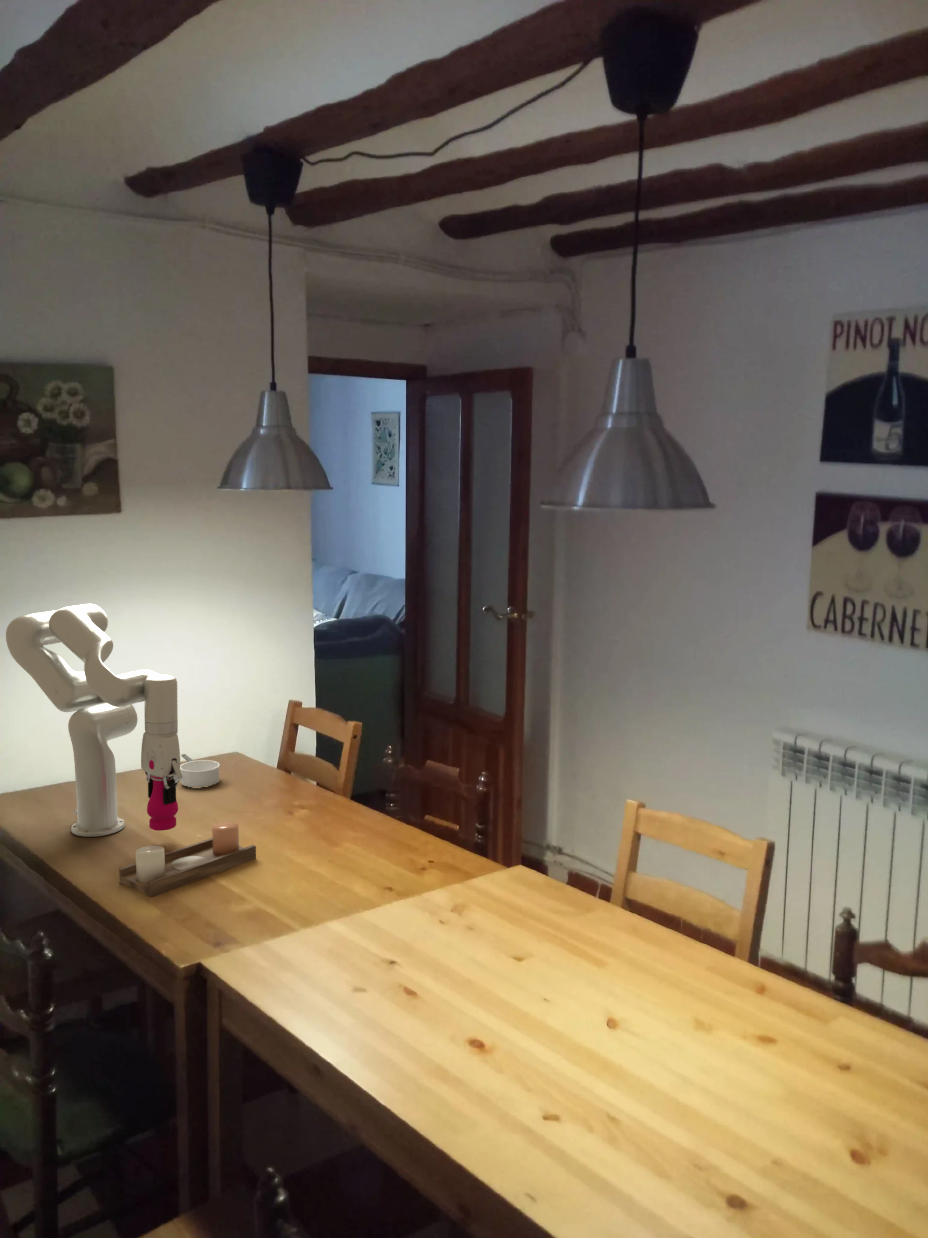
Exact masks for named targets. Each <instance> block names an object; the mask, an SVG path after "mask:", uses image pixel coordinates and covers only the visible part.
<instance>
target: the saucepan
mask: <svg viewBox="0 0 928 1238" xmlns="http://www.w3.org/2000/svg"><path fill="white" fill-rule="evenodd" d="M180 757H182V758H183V759H184V760H185V761H186V762H183V763H182V764H181V763H180V772H181V774H182V779H181V780H180V783H181V785H182V786H185V787H186V786H188V787H187V788H189V787H205V786H210V785H213V784H214V785H217V784H218V783H219V782H220V766H221V763H220V762H219V761H215V760H210V759H199V760H193V759H192V758H191V757H189V755H187V754H186V753H182V754H180ZM214 785H213V786H214Z"/></svg>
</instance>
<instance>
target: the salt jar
mask: <svg viewBox="0 0 928 1238" xmlns="http://www.w3.org/2000/svg"><path fill="white" fill-rule="evenodd" d="M135 863H136V877H137V880H138V881H139V882H144V883H148V881H151V880H154V879H157V878H160V877H163V876H165V848H164V847H163V846H160V845H147V846H143V847H140V848H138V849H136V850H135Z"/></svg>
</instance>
